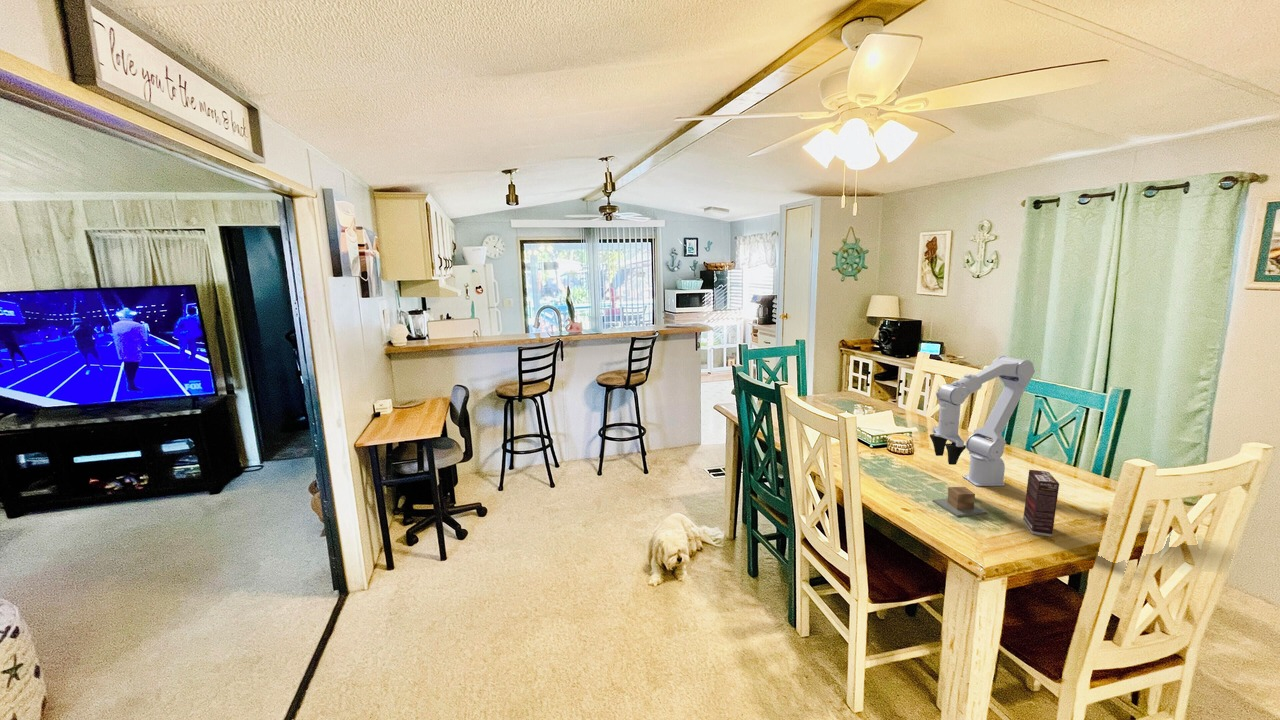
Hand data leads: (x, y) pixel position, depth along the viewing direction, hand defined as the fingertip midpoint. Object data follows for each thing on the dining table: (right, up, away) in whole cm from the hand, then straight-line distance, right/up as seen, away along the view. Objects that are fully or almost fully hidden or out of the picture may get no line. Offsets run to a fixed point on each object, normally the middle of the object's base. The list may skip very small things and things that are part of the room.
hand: (945, 459), depth 165 cm
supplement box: (+11, -15, -25) cm, 31 cm away
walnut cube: (-3, -12, -12) cm, 17 cm away
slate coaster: (-3, -12, -12) cm, 17 cm away
